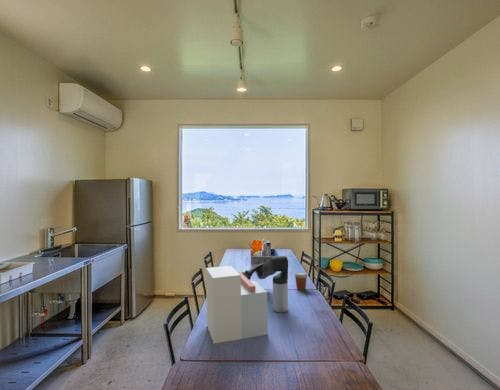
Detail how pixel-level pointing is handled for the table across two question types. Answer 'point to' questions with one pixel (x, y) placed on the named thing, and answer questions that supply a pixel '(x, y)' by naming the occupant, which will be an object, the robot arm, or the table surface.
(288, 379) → the table surface
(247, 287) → the rod
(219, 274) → the riser
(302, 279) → the disposable coffee cup
